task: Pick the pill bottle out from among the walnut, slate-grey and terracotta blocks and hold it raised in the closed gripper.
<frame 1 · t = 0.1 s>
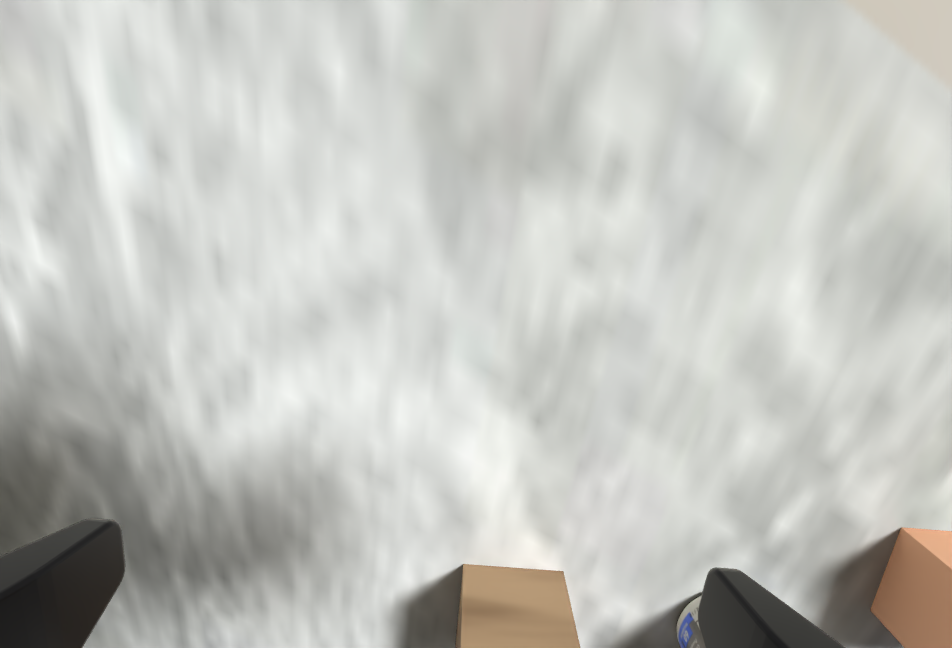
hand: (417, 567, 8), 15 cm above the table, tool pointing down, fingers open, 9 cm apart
pill bottle: (718, 620, 27), on the table
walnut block: (507, 606, 26), on the table
terracotta block: (932, 572, 26), on the table
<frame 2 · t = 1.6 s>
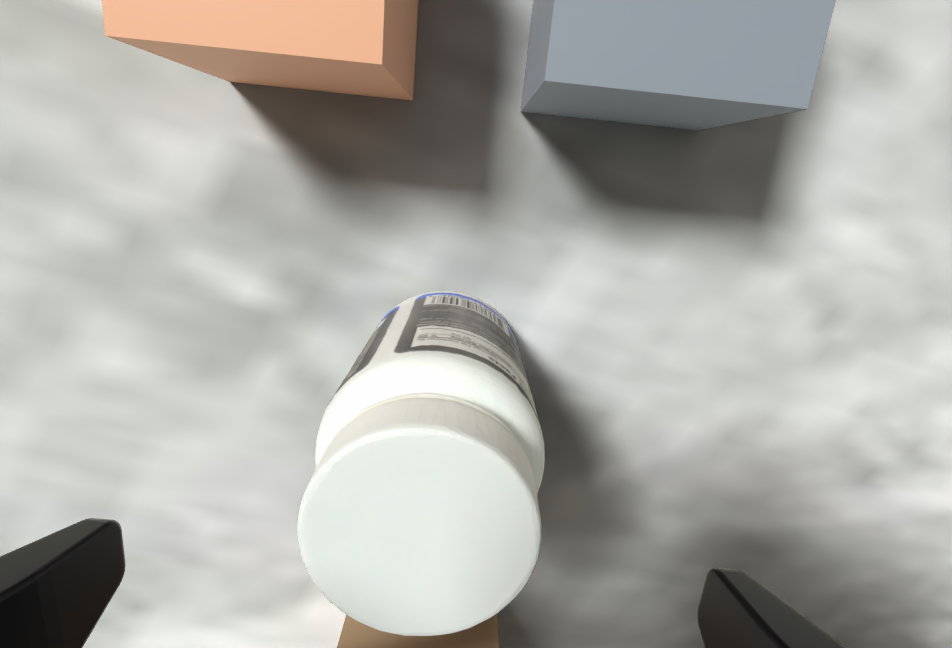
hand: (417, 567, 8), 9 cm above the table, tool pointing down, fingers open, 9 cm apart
slate-grey block: (624, 21, 14), on the table
pill bottle: (445, 358, 16), on the table
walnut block: (422, 631, 19), on the table
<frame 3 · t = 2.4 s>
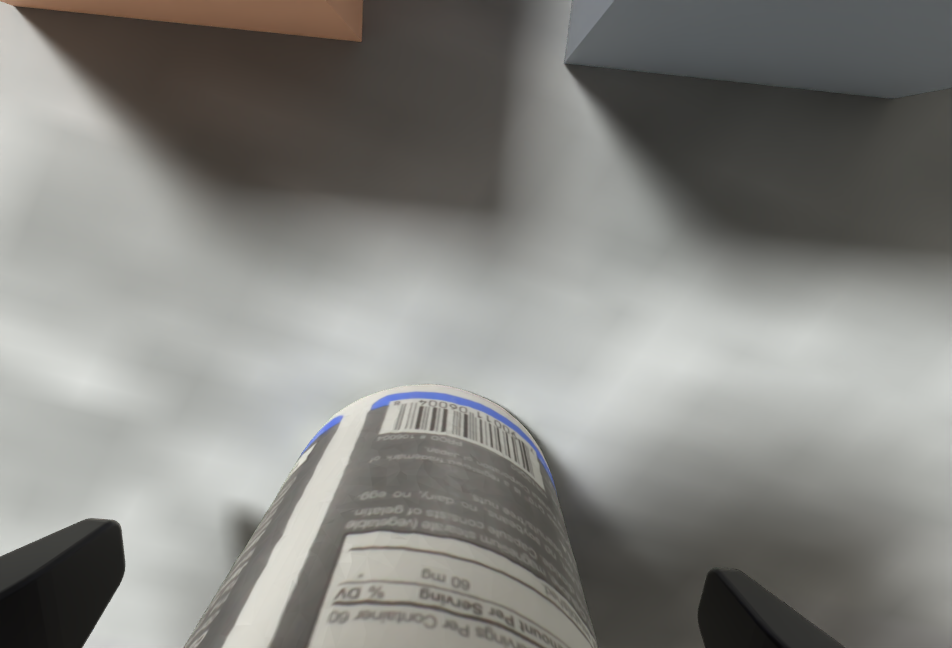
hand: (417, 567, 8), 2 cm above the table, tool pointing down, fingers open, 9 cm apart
pill bottle: (429, 487, 10), on the table
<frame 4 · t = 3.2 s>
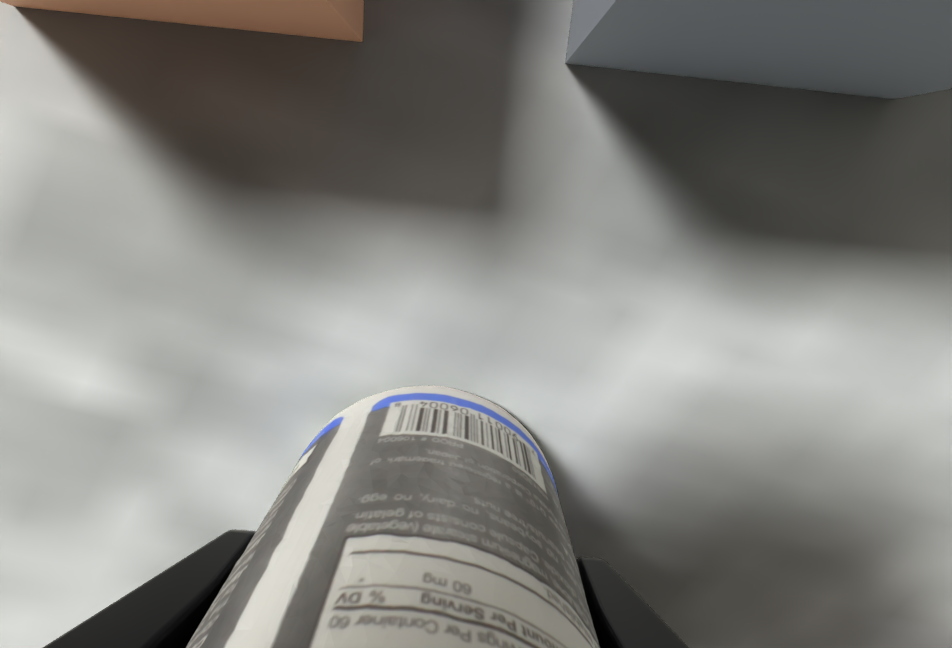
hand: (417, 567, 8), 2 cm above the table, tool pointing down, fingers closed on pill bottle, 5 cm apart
pill bottle: (429, 489, 10), on the table, touching gripper
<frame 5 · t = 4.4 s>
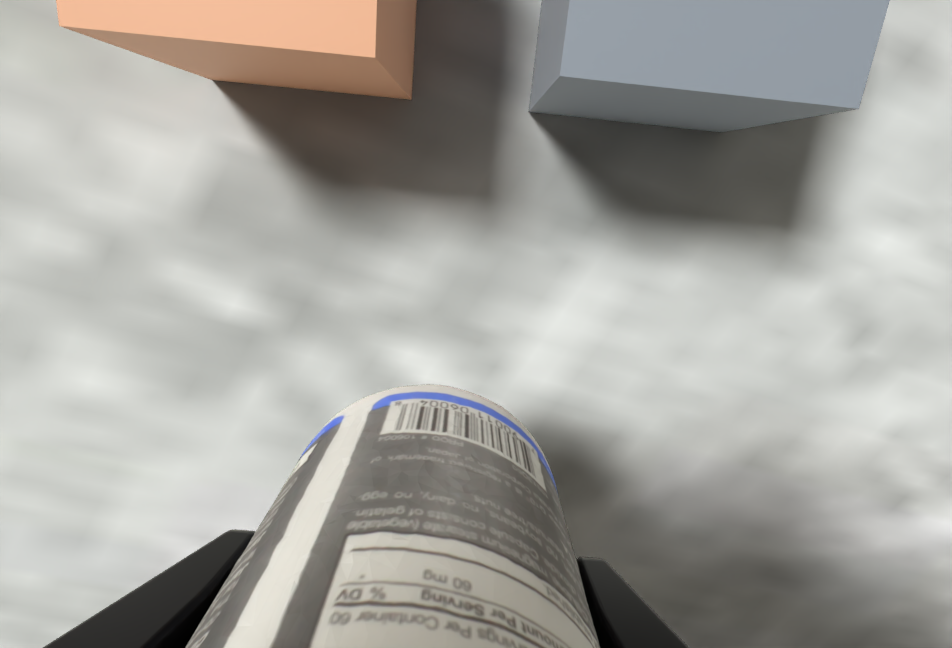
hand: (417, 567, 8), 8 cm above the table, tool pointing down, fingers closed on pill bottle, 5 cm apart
slate-grey block: (642, 13, 13), on the table
pill bottle: (430, 487, 10), point 5 cm above the table, touching gripper
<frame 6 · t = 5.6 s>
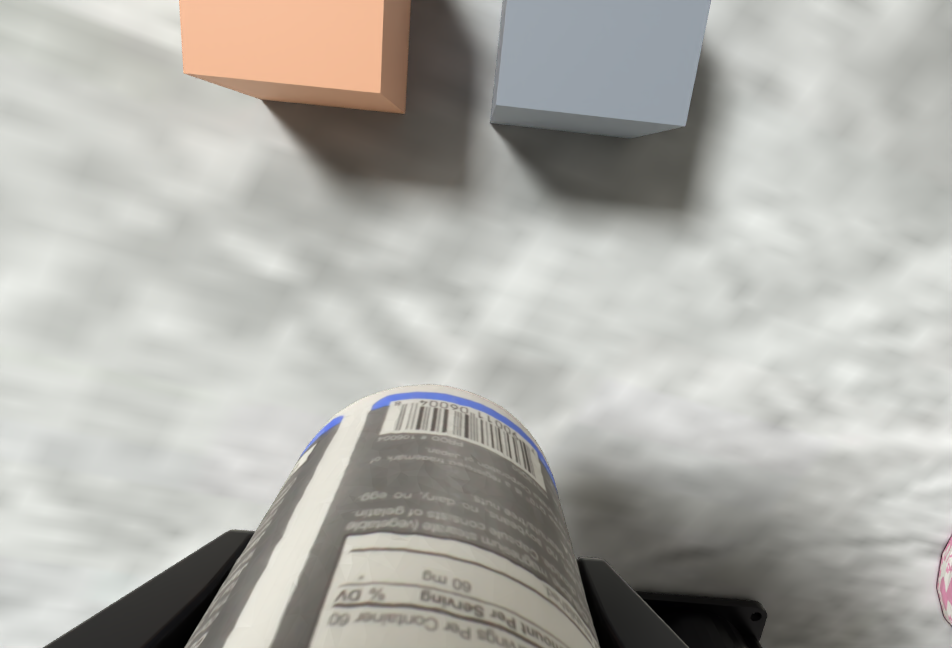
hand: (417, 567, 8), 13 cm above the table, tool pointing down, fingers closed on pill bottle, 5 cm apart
slate-grey block: (571, 53, 17), on the table
pill bottle: (429, 488, 10), point 11 cm above the table, touching gripper
terracotta block: (335, 26, 17), on the table
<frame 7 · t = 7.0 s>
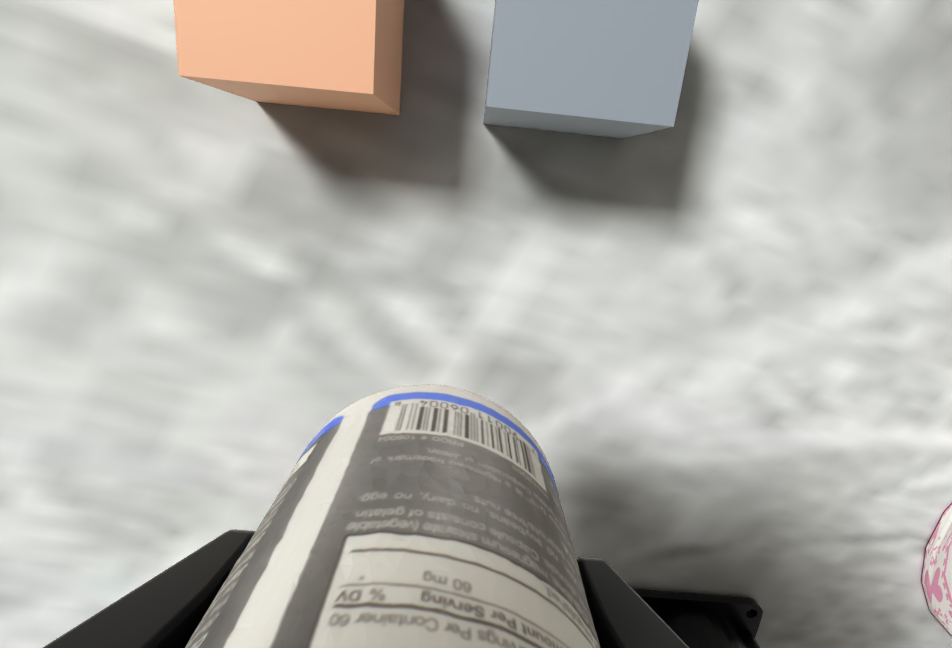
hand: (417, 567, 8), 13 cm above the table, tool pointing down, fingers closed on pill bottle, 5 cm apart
slate-grey block: (563, 54, 18), on the table
pill bottle: (429, 488, 10), point 11 cm above the table, touching gripper
terracotta block: (329, 29, 17), on the table
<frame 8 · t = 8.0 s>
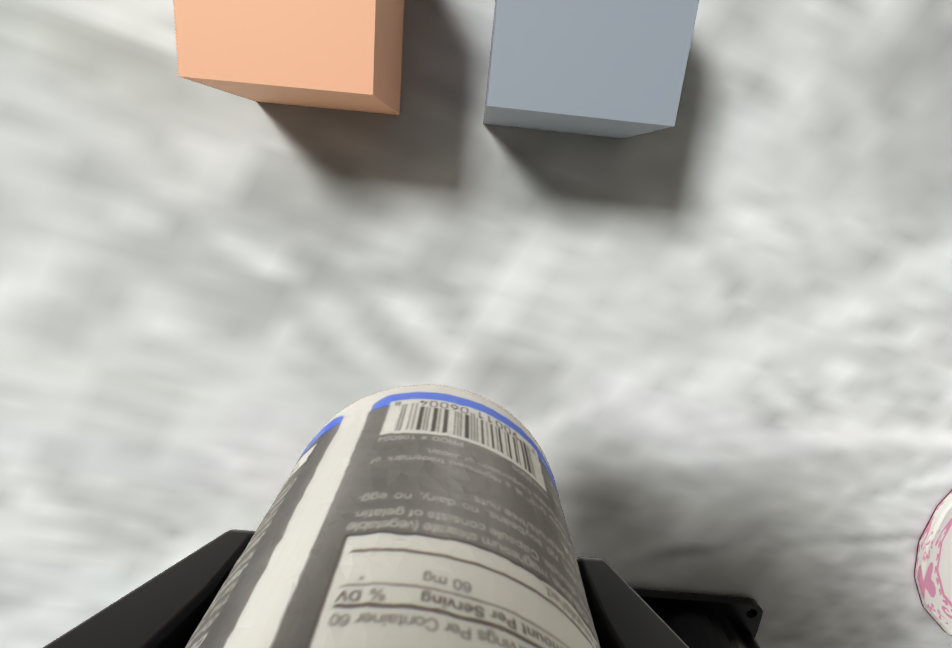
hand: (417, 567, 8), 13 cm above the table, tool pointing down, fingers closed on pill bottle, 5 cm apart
slate-grey block: (563, 54, 18), on the table
pill bottle: (429, 488, 10), point 11 cm above the table, touching gripper
terracotta block: (329, 29, 17), on the table
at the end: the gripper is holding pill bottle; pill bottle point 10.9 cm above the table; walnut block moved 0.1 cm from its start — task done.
